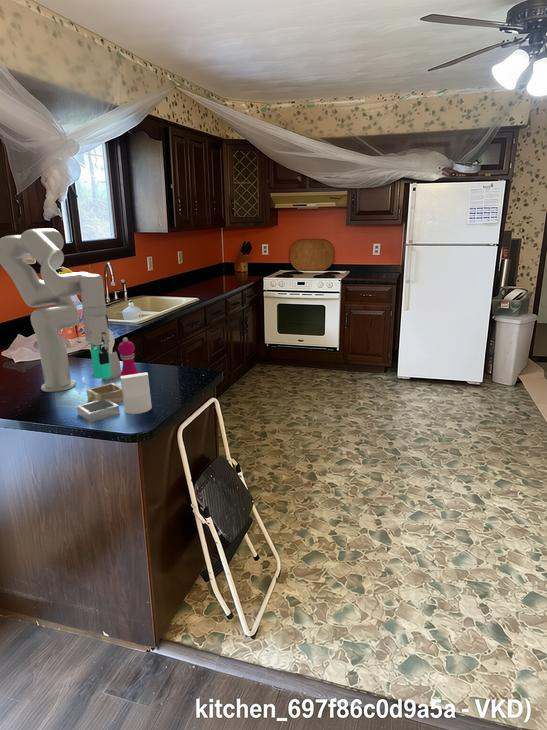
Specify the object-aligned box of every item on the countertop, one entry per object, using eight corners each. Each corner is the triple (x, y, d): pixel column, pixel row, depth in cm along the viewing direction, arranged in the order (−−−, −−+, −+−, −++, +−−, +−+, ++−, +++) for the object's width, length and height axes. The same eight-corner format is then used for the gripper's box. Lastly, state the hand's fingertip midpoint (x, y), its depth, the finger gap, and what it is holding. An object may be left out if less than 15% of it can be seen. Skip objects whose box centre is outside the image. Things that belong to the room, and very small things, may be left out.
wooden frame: (88, 400, 179) (86, 389, 178) (114, 392, 185) (112, 382, 184) (99, 407, 172) (98, 396, 171) (126, 399, 178) (125, 388, 177)
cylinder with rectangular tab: (126, 415, 164) (122, 381, 160) (122, 406, 171) (118, 373, 168) (154, 410, 167) (150, 377, 163) (149, 402, 175) (145, 369, 171)
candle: (101, 379, 172) (97, 346, 169) (90, 377, 175) (86, 344, 172) (115, 375, 177) (111, 342, 173) (104, 372, 180) (100, 340, 177)
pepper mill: (135, 391, 186) (129, 340, 180) (118, 391, 187) (111, 339, 181) (144, 385, 192) (138, 335, 187) (127, 384, 194) (121, 335, 188)
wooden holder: (78, 414, 166) (76, 406, 165) (106, 406, 172) (105, 398, 171) (90, 422, 159) (89, 413, 158) (119, 413, 165) (118, 405, 164)
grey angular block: (121, 376, 205) (118, 352, 202) (106, 380, 200) (103, 356, 197) (116, 374, 208) (113, 351, 205) (102, 378, 203) (98, 354, 200)
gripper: (74, 309, 173) (81, 359, 178) (94, 316, 161) (101, 369, 166) (94, 306, 178) (101, 355, 183) (116, 312, 166) (122, 364, 171)
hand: (101, 361), depth 175 cm, fingers closed on candle, 4 cm apart
